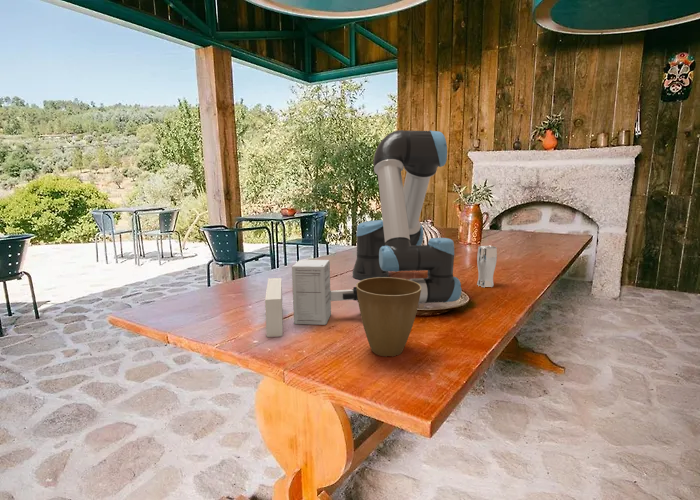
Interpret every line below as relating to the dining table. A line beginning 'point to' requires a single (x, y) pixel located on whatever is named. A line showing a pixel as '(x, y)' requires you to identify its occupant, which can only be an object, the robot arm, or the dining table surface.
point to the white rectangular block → (274, 307)
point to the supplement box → (311, 292)
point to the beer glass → (486, 265)
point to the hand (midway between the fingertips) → (330, 295)
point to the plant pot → (388, 312)
